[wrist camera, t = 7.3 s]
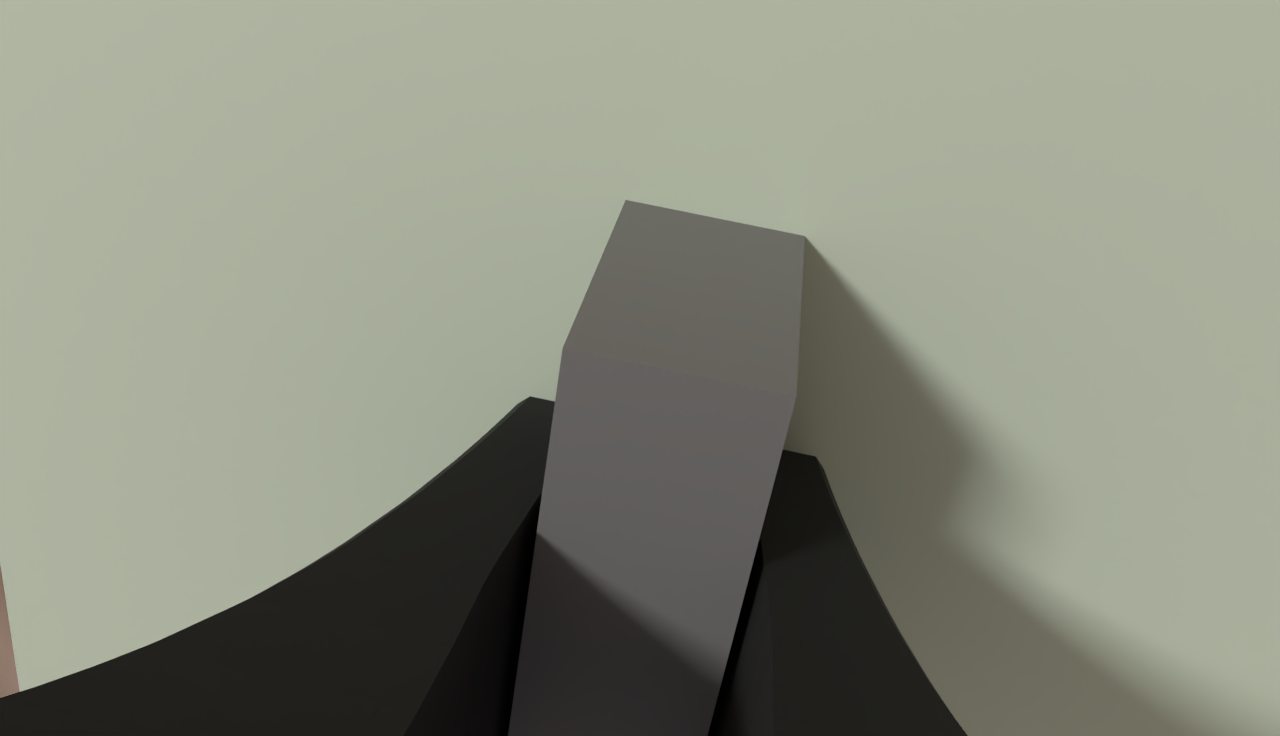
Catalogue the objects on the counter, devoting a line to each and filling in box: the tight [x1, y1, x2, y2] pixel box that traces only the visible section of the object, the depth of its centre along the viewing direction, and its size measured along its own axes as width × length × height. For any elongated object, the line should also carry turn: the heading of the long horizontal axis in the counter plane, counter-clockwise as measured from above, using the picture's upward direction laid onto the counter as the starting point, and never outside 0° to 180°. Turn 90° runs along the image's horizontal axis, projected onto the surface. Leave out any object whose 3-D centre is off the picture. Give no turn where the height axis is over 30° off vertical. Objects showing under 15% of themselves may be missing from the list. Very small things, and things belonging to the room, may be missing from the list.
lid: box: [0, 0, 1280, 736], centre depth 11 cm, size 14×19×4 cm
